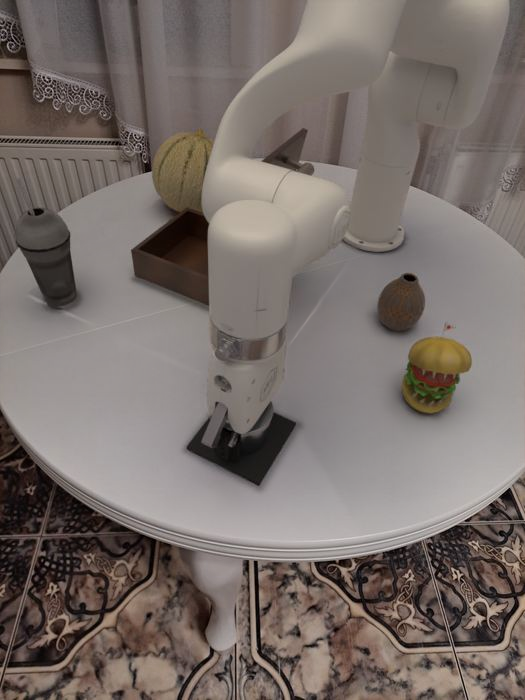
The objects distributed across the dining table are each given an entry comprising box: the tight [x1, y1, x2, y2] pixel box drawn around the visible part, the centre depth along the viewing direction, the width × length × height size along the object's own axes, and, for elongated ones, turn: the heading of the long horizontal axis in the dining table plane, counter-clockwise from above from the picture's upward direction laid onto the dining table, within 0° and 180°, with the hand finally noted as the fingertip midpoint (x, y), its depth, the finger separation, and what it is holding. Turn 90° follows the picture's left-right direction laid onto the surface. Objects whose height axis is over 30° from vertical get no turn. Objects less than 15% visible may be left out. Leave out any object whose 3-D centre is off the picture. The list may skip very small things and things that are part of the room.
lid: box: [260, 127, 315, 176], centre depth 72 cm, size 18×16×5 cm
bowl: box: [223, 400, 274, 455], centre depth 61 cm, size 7×7×5 cm
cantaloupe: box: [151, 127, 215, 213], centre depth 95 cm, size 15×15×15 cm
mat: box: [186, 411, 297, 487], centre depth 63 cm, size 10×10×1 cm
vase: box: [376, 272, 426, 331], centre depth 77 cm, size 7×7×9 cm
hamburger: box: [401, 321, 473, 414], centre depth 65 cm, size 8×7×12 cm
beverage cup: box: [14, 177, 77, 311], centre depth 72 cm, size 7×7×20 cm
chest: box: [130, 208, 209, 307], centre depth 84 cm, size 18×16×6 cm
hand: (242, 432), depth 63 cm, fingers closed on bowl, 7 cm apart
